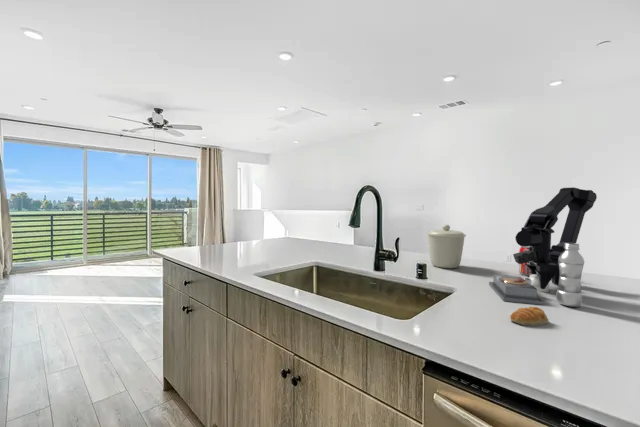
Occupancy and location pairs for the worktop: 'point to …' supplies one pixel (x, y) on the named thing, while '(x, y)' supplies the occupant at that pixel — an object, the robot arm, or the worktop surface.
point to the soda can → (522, 267)
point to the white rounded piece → (538, 283)
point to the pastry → (529, 316)
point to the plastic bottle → (570, 276)
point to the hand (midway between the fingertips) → (539, 286)
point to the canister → (445, 247)
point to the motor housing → (515, 289)
